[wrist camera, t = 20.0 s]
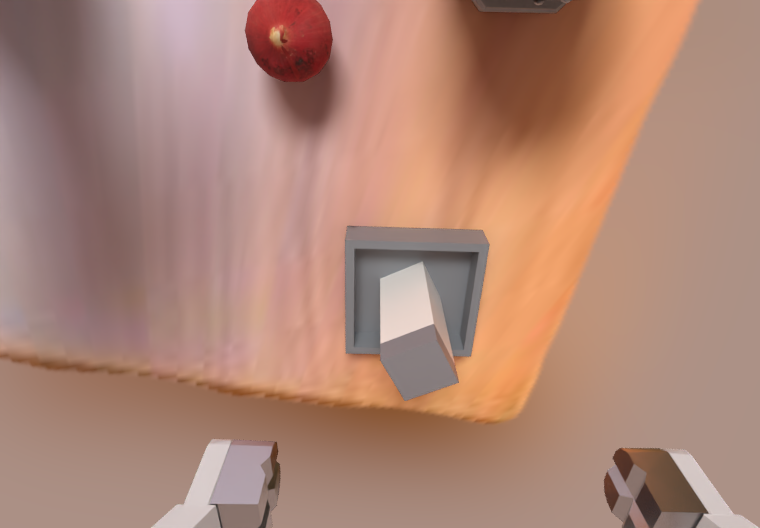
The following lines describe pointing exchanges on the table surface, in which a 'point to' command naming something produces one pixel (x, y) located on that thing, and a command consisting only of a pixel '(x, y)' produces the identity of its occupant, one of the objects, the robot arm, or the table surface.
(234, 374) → the table surface
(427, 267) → the walled box
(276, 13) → the onion
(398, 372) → the plug
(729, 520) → the robot arm
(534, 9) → the tankard
